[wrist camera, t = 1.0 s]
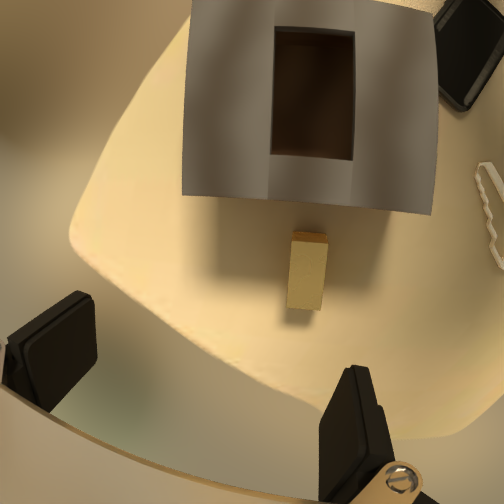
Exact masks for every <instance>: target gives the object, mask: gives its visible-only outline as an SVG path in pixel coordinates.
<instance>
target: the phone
mask: <svg viewBox="0 0 504 504" xmlns="http://www.w3.org/2000/svg"><path fill="white" fill-rule="evenodd" d="M433 24H434V33H435V43H436V54H437V70H438V94H439V95H440V96H441V97H442V98H443V99H444V100H445V101H446V102H447V103H448V104H449V105H450V106H451V107H452V108H453V109H454V110H455V111H458V112H465V111H468V110H469V109H470V108H471V107H472V105H473V103H474V102H475V100H476V99H477V97H478V96H479V94H480V93H481V91H482V90H483V88H484V86H485V85H486V83H487V82H488V80H489V78H490V77H491V75H492V74H493V72H494V70H495V69H496V67H497V65H498V64H499V62H500V60H501V59H502V57H503V55H504V16H503V15H502V14H501V13H500V12H499V11H498V10H497V9H496V8H495V7H494V6H493V5H492V4H491V3H490V2H489V1H488V0H446V1H445V3H444V6H443V7H442V8H441V9H440V11H439V12H438V13H437V14H436V16H435V17H434V18H433Z"/></svg>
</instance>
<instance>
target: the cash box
mask: <svg viewBox="0 0 504 504" xmlns="http://www.w3.org/2000/svg"><path fill="white" fill-rule="evenodd" d="M437 144H438V70H437V54H436V43H435V33H434V24H433V16H432V14H431V13H428V12H424V11H420V10H416V9H412V8H408V7H404V6H399V5H395V4H390V3H385V2H379V1H373V0H192V9H191V19H190V29H189V40H188V52H187V65H186V80H185V98H184V120H183V152H182V195H186V196H212V197H233V198H251V199H267V200H282V201H296V202H308V203H320V204H332V205H342V206H353V207H363V208H372V209H381V210H390V211H399V212H407V213H415V214H423V215H431V211H432V203H433V194H434V185H435V174H436V161H437Z"/></svg>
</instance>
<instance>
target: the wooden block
mask: <svg viewBox="0 0 504 504" xmlns="http://www.w3.org/2000/svg"><path fill="white" fill-rule="evenodd" d="M327 254H328V240H327V236H326V234H321V233H309V232H297V231H293V234H292V241H291V254H290V267H289V279H288V291H287V302H286V308H295V309H307V310H319V311H320V309H321V302H322V294H323V287H324V279H325V271H326V262H327Z"/></svg>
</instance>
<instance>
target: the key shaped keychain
mask: <svg viewBox="0 0 504 504" xmlns="http://www.w3.org/2000/svg"><path fill="white" fill-rule="evenodd" d="M482 165H483V166H484V167H485V169H486V171H487V173H488V174H489V176H490V178H491V180H492V182H493V183H494V185H495V187H496V189H497V191H498V193H499V195H500V197H501V199H502V201H503V203H504V183H503V181H502V179H501V177H500V176H499V174H498V172H497V170H496V169H495V167H494V165H493V164H492V162H482V163H478V164H477V168H476V171H475V174H474V178H475V180H476V182H477V187H478V189H479V191H480V196H481V198H482V200H483V202H484V205H483V209H484V211H485V213H486V215H487V217H488V219H487V222H486V226H487V228H488V230H489V232H490V234H491V236H492V239H491V242H490V244H489V248H490V250H491V252H492V255H493V257H494V259H495V261H496V263H497V265H498V267H499V268H501V269H502V270H504V257H501V258H500V256H499V254H498V252H497V250H496V248H495V246H494V244H495V241H496V239H497V236H498V235H497V233H496V231H495V230H494V228H493V226H492V224H491V221H492V218H493V215H492V213H491V211H490V209H489V207H488V203H489V200H488V198H487V196H486V195H485V193H484V191H485V189H484V187H483V186H482V184H481V177H480V175H479V174H478V170H479V166H482Z"/></svg>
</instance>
